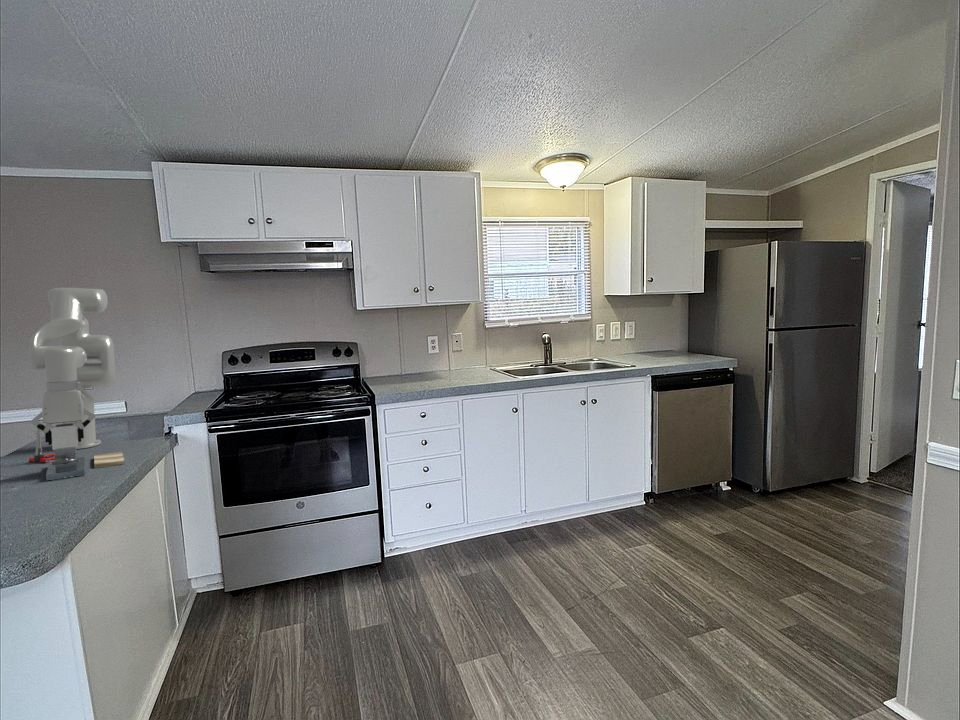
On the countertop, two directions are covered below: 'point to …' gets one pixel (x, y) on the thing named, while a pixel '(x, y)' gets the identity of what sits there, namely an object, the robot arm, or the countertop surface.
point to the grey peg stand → (65, 464)
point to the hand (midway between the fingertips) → (65, 442)
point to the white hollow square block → (64, 436)
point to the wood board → (108, 459)
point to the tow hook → (40, 450)
